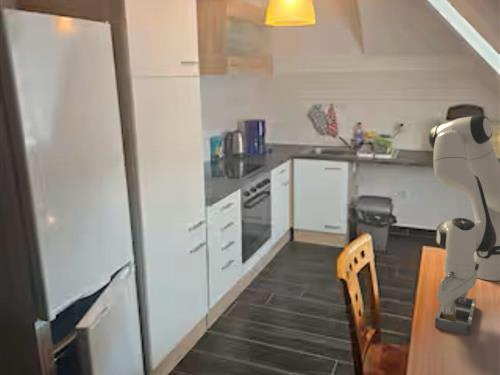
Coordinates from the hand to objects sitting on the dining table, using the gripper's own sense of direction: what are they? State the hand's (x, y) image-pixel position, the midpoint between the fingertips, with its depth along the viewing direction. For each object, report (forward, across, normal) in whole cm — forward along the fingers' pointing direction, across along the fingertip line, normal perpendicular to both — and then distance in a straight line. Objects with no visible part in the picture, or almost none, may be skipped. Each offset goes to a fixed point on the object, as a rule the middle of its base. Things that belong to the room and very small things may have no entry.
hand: (455, 306), depth 157 cm
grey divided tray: (+6, +5, +2) cm, 8 cm away
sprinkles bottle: (+6, 0, +2) cm, 6 cm away
